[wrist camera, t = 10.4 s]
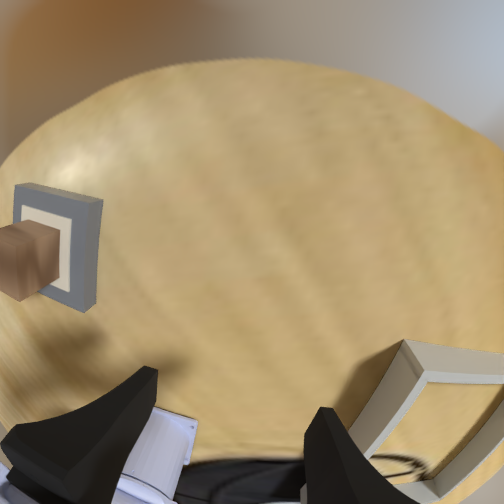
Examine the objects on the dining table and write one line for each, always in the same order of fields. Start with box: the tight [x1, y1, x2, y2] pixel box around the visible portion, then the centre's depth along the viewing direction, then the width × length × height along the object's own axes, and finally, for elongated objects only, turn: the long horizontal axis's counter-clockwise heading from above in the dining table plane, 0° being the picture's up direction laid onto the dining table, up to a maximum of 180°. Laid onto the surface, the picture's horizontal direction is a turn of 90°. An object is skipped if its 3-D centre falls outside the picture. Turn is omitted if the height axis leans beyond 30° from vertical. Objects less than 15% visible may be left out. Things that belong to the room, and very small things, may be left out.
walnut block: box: [0, 219, 60, 302], centre depth 17 cm, size 4×4×5 cm
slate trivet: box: [13, 183, 103, 313], centre depth 20 cm, size 9×9×2 cm
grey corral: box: [300, 339, 504, 504], centre depth 23 cm, size 26×24×4 cm
